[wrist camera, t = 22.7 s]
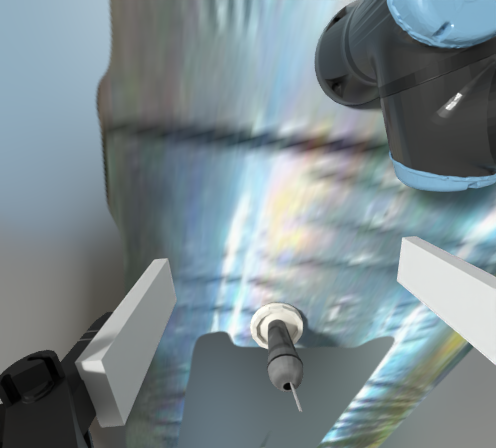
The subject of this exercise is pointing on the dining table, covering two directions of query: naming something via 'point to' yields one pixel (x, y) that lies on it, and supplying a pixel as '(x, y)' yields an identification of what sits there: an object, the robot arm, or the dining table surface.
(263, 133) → the dining table surface
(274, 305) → the plate
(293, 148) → the dining table surface
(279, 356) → the beverage cup
